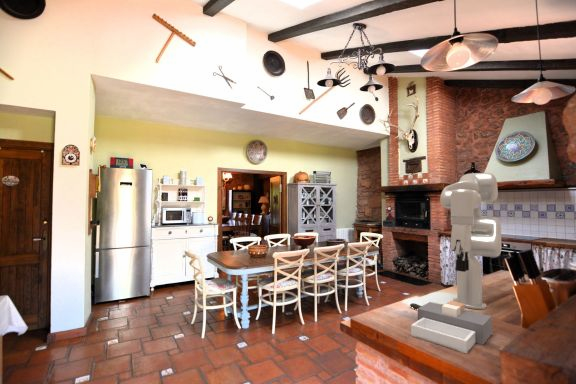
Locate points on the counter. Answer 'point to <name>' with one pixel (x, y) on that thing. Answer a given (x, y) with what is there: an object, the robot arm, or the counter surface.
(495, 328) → the counter surface
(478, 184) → the robot arm
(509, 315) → the counter surface
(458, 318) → the block
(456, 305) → the terracotta tile
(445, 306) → the cream tile
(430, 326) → the box
